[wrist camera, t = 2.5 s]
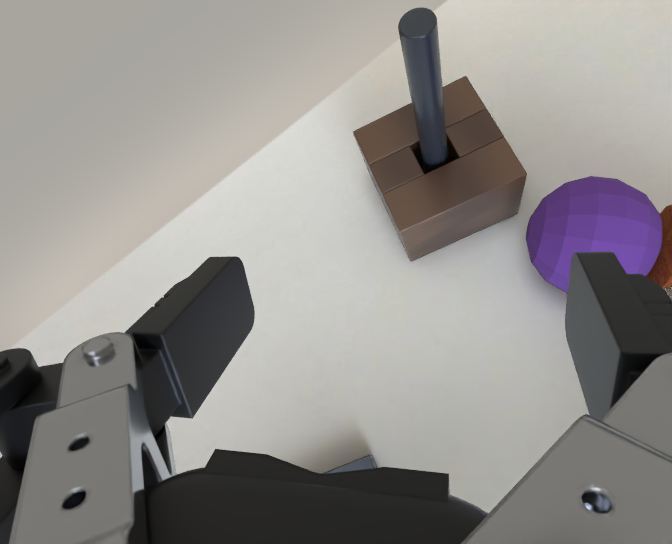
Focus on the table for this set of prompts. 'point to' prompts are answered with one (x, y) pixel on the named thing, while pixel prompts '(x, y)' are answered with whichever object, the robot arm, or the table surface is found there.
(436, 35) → the stylus
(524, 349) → the table surface
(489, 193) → the pen stand
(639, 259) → the kendama
